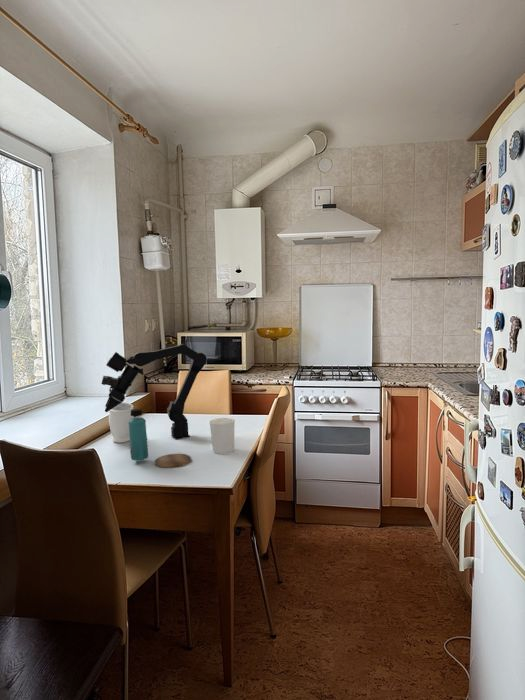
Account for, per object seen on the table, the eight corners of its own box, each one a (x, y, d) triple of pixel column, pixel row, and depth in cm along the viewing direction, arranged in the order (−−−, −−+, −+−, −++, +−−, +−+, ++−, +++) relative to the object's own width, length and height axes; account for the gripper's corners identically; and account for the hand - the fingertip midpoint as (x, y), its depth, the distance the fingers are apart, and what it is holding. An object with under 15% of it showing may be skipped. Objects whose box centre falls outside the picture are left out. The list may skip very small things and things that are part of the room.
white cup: (226, 456, 177) (224, 425, 176) (206, 452, 183) (204, 422, 181) (240, 448, 186) (239, 419, 184) (221, 445, 191) (219, 416, 190)
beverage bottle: (152, 461, 175) (148, 408, 173) (136, 466, 170) (133, 412, 168) (142, 457, 179) (139, 406, 178) (127, 462, 175) (123, 409, 173)
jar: (129, 444, 199) (128, 411, 196) (105, 443, 200) (104, 410, 196) (137, 434, 210) (136, 403, 206) (114, 433, 210) (113, 401, 206)
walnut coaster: (182, 453, 182) (182, 451, 182) (196, 462, 171) (196, 460, 171) (150, 460, 175) (150, 458, 175) (162, 470, 164) (161, 467, 164)
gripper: (110, 365, 204) (90, 395, 203) (109, 370, 186) (87, 403, 185) (132, 378, 208) (112, 408, 206) (134, 385, 190) (112, 418, 188)
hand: (105, 409), depth 196 cm, fingers open, 9 cm apart
